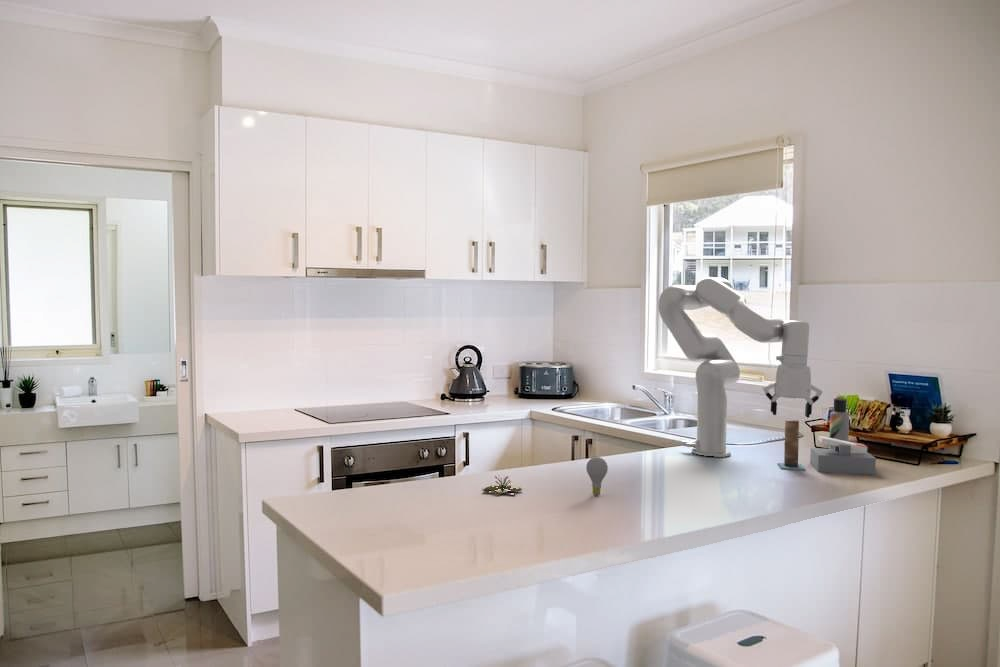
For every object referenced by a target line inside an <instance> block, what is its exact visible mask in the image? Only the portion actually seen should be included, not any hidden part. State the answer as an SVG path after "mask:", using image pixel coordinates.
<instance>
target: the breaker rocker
mask: <svg viewBox="0 0 1000 667" xmlns="http://www.w3.org/2000/svg"><path fill="white" fill-rule="evenodd" d="M818 441H819V443H821V444H823V445H824V444H825V445H834V446H838V447H839V445H851V450H857V451H862V452H868V445H865V444H864V443H859V442H851V441H849V440H848V441H843V440H838V439H833V438H830V436H823V435H818Z"/></svg>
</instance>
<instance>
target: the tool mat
mask: <svg viewBox="0 0 1000 667" xmlns="http://www.w3.org/2000/svg"><path fill="white" fill-rule="evenodd" d="M777 466H778V467H779V469H781V470H786V471H787V470H790V471H791V470H792V471H806V468H805V466H804V465H803V464H801V463H798V467H788V466H785V465H784V462H777Z"/></svg>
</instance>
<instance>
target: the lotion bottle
mask: <svg viewBox="0 0 1000 667" xmlns="http://www.w3.org/2000/svg"><path fill="white" fill-rule="evenodd" d="M847 401H848V400H847V399H846V398H844V397H838V396H837V397H834V398H833V409H832V410H833V411H831V412H830V414H829V415H830V416H829V419H830V420H829V438H833V439H838V440H843V441H848V442H849V431H850V413H849V412H848V411H847V404H848V403H847ZM828 445H829V444H828ZM828 449H834V445H829V447H828Z"/></svg>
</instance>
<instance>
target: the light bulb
mask: <svg viewBox="0 0 1000 667" xmlns="http://www.w3.org/2000/svg"><path fill="white" fill-rule="evenodd" d="M585 466H586V468H585V469H586V473H587V474H588V476H589V478H590V480H591V487H592V494H593V495H594V496H595V495H598V496H599V495H601V488H602V482H603V480H604V478H605V477H606V475H607V473H608V469H609V468H608V467H609V466H608V463H607V461H606V460H605V459H604V458H602V457H599V456H596V457H592V458H590V459H589V460H588V462H587V463H586V465H585Z"/></svg>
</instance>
